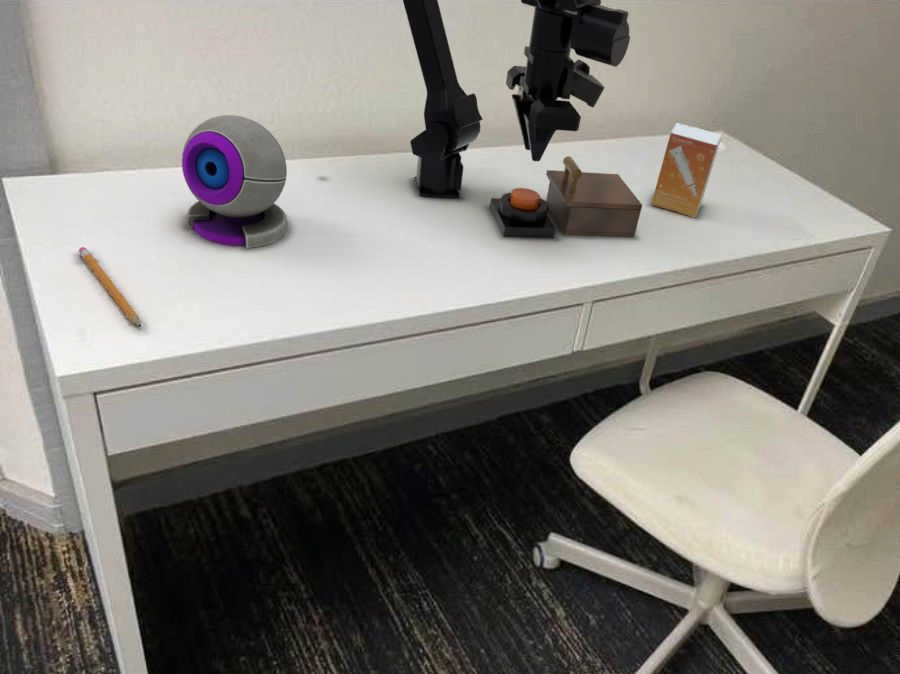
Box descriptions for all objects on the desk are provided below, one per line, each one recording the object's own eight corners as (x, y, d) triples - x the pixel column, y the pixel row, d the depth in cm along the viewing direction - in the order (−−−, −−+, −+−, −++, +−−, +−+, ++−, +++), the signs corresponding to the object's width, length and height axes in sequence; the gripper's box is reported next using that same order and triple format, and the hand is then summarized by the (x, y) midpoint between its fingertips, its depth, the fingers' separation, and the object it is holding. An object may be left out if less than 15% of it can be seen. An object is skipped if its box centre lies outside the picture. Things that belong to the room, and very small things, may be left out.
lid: (566, 206, 128) (571, 177, 126) (546, 174, 137) (550, 147, 134) (641, 209, 132) (648, 181, 130) (617, 178, 141) (623, 151, 138)
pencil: (76, 252, 104) (134, 329, 94) (80, 245, 104) (138, 321, 93) (84, 254, 105) (142, 331, 94) (88, 247, 105) (146, 323, 94)
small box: (650, 205, 147) (669, 131, 139) (657, 193, 152) (676, 121, 144) (696, 218, 145) (717, 144, 138) (701, 205, 150) (722, 133, 143)
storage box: (565, 235, 132) (571, 206, 129) (545, 202, 140) (550, 175, 137) (634, 237, 135) (641, 210, 132) (610, 205, 144) (617, 179, 141)
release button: (541, 211, 130) (543, 200, 129) (513, 210, 128) (515, 199, 127) (534, 198, 133) (535, 188, 132) (506, 197, 132) (508, 187, 131)
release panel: (553, 238, 130) (557, 217, 128) (503, 237, 128) (506, 215, 126) (537, 209, 138) (540, 189, 135) (489, 207, 135) (492, 187, 133)
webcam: (167, 228, 113) (155, 117, 104) (227, 196, 123) (221, 92, 114) (251, 257, 111) (246, 146, 102) (305, 222, 121) (305, 118, 112)
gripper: (626, 72, 112) (602, 184, 122) (585, 32, 126) (566, 135, 135) (546, 65, 109) (527, 180, 118) (512, 24, 123) (498, 130, 132)
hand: (532, 155), depth 126 cm, fingers open, 4 cm apart
